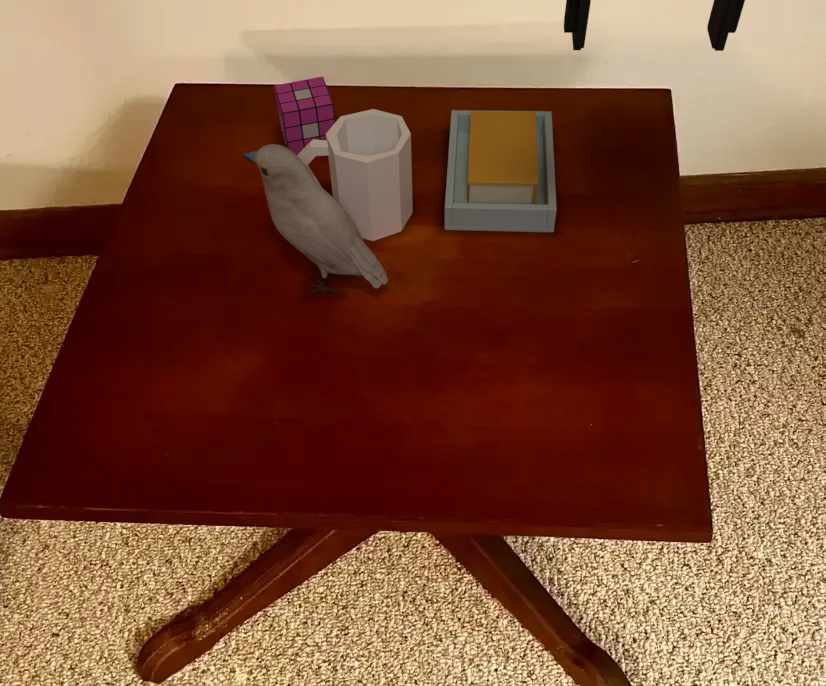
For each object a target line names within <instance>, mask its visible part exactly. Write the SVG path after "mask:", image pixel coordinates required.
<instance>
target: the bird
mask: <svg viewBox="0 0 826 686" xmlns="http://www.w3.org/2000/svg"><path fill="white" fill-rule="evenodd" d="M297 155H298V154H297ZM297 155H296V154H295V153H294V152H293V151H291V150H290V149H288V148H286V146H283V145H282V144H278V143H277V144H276V143H272V144H271V143H270V144H266V145H262V146H261V147H260V148H259V149H258V150H255V151H250V152H245V153H243V154H242V155H241V157H243V158H245V159H246V160H247V161H249V162H252V163H254V164H255V165H256V166H257V167H258V170H259V174H260V176H261V181H262V184H263V188H264V193H265V198H266V203H267V207H268V211H269V213H270V218H271V221H272V223H273V224H274V227H275V228H276V230H277V231H278V233H280V235H281V236H282V237H283V238H284V239H285V240H286V241H287V242H289V244H291V245H292V246H293V247H294V248H295V249H297V250H298V251H299V252H300V253H302V254H303V255H304V256H305V257H306V258H308V260H310V261H311V262H312V263H313V264H315V265H316V266H317V267H318V269H319V271H320V275H321V276H320V277H321V279H320V280H317V283H318V284H311V287H315V288H316V289H314V290H312V292H311V293H310V294H309V295H312V294H314V293H318V292H320V293H327V292H333V293H336V294H338V292H337V290H335V289H334V288H331V287H328V286H327V285H326V283H325V279H326V278H327V277H328V275H332V276H337V275H341V276H343V275H344V276H347V277H349V276H359V277H360V276H362V277H364V279H365V280H366V281H368V282H369V284H370V285H371V286H372V287H373V288H374V289H379V288H380V287H381V286H382V285H383V286H385V285H386V284H387V283H388V281H389V278H388V276H387V271H386V270H385V269H384V267H383V266H382V265H381V263H380V261H379V259H377V256H376V255H375V253H374V252H373V251H372V250H371V249H370V248H369V247H368V245H366V243H365V241H364V238H362V237H361V234H360V233H359V231H358V229H357V227H356V226H355V224H354V223H353V221H352V220H351V218H350V217H349V216H348V215H347V213H346V212H345V210H344V209H343V208H342V206H341V205H340V204H339V203H338V202H337V201H336V200H335V199H334V198H333V195H331V194H330V193H329V192H327V191H326V189H324V188H323V187H322V185H321V184H320V183H319V184H320V185H321V186H320V185H319V184H318V183H317V182H316V180H315V179H314V178H313V176H312V175H311V174H310V172H309V171H308V169H307V168H306V166H305V165H304V163H303V162H302V161H301V159H300V158H299V157H298V156H297Z"/></svg>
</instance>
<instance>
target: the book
mask: <svg viewBox="0 0 826 686" xmlns="http://www.w3.org/2000/svg"><path fill="white" fill-rule="evenodd" d="M497 111H498V110H475V111H471V121H470V143H469V166H468V192H467V203H488V204H536V198H537V190H538V159H537V129H536V112H497Z"/></svg>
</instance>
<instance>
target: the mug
mask: <svg viewBox="0 0 826 686" xmlns="http://www.w3.org/2000/svg"><path fill="white" fill-rule="evenodd" d="M297 156H298V157H299V158H300V159H301V161H302V162H303V163H304V165H305V166H306V168H307V169H308V171H309V172H310V174H311V175H312V176H313V178H314V179H315V180H316V182H317V183H318V184H319V185H320V186H321V187H322V185H321V184H320V182H319V180H318V179H317V177H316V175H315V174H314V172H313V170H312V169H311V167H310V165H309V164H310V163H311V162H312V161H313V160H314V159H315V158H316V157H322V156H323V157H324V156H328V165H329V166H328V167H329V173H330V176H329V177H330V182H331V193H332V197H333V198H334V199H335V200H336V201H337V202H338V203H339V204H340V205H341V206H342V208H343V209H344V210H345V212H346V213H347V215H348V216H349V217H350V218H351V220H352V221H353V223H354V224H355V226H356V227H357V229H358V231H359V233H360V234H361V237H362V239H363V240H368V241H370V242H374V241H377V240H379V239H380V240H381V239H382V238H386V237H389V236H392V235H395V234H399V233H401V232H402V231H403V230H404V228H405V226H406V225H407V223H408V221H409V220H410V218H411V216H412V214H413V213H414V211H413V209H414V207H413V206H414V205H413V168H412V167H413V166H412V165H413V164H412V162H413V161H412V134H411V131H410V129H409V127H408V126H407V124H406V122H405V119H404V118H403V116H402V115H398V114H395V113H391V112H387V111H383V110H379V109H375V108H372V109H367V110H363V111H359V112H354V113H349V114H345V115H340V116H339V117H338V119H337V120H335V124H334V125H333V126H332V127H331V128H330V130H329V131H328V132H327V133H326V140H314V139H313V140H312V141H311V142H310V143H309V144H308V145H307V146H306V147H305V148H304V149H303V150H302V151H301V152H300V153H299V154H297Z"/></svg>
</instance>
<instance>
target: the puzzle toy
mask: <svg viewBox="0 0 826 686" xmlns="http://www.w3.org/2000/svg"><path fill="white" fill-rule="evenodd" d="M273 90H274V96H275V102H276V109H277V114H278V121H279V126H280V131H281V135H282V137H283V141H284V144H285V147H286V148H288V149H290V150H291V151H293V152H294V153H295V154H296V155H298V154H299V153H300V152H301V151H302V150H303V149H304V148H305V147H306V146H307V145H308V144H309V143H310V142H311V141H312V140H313V139H314V140H326V133H327V132H328V131H329V130H330V128H331V127H332V126H333V125H334V124H335V122H336V119H335V118H336V117H335V109H334V108H335V107H334V103H333V100H332V97H331V94H330V92H329V89H328V86H327V84H326V80H325V78H324V76H317V77H312V78H307V79H301V80H295V81H292V82H285V83H280V84H279V83H278V84H274V85H273Z"/></svg>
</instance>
